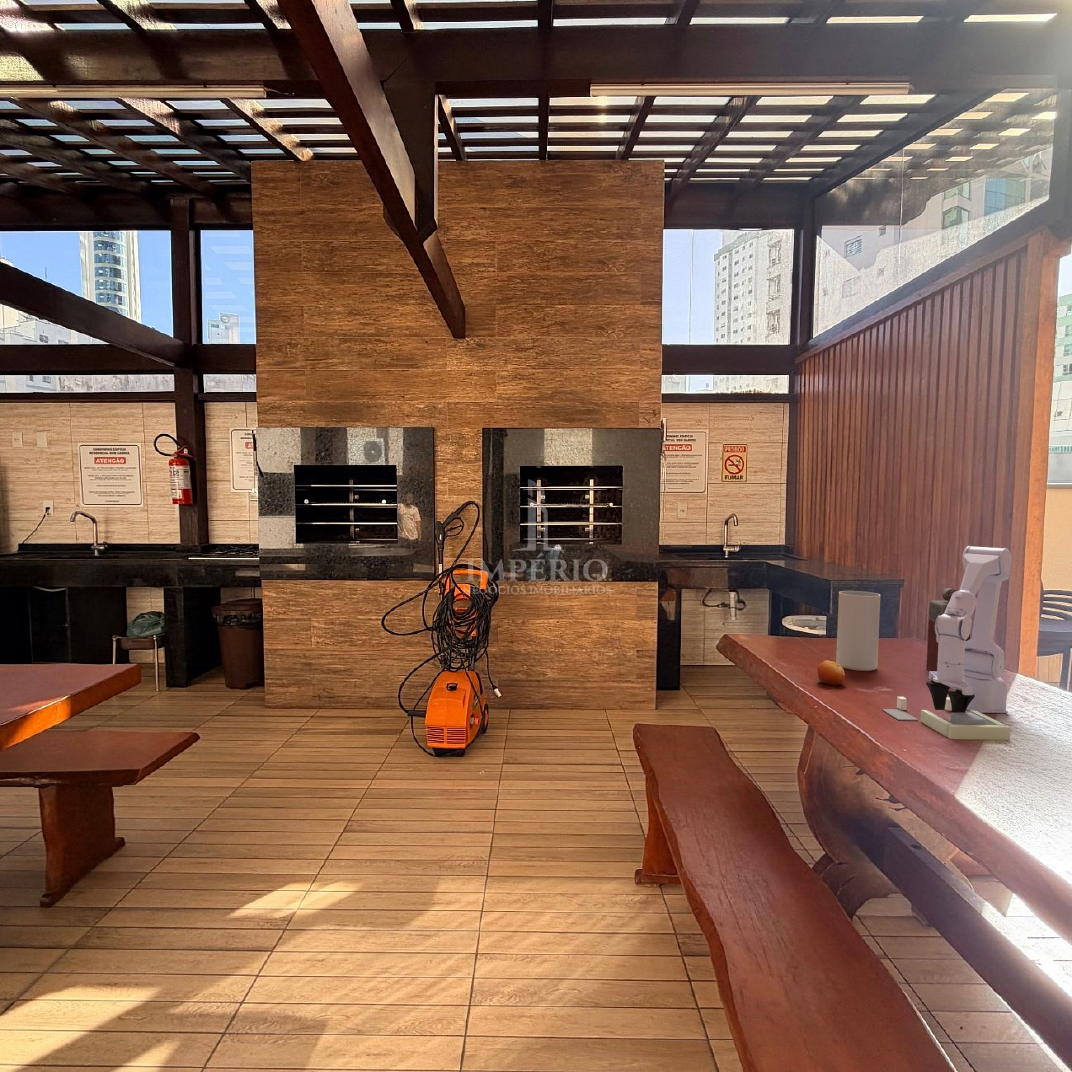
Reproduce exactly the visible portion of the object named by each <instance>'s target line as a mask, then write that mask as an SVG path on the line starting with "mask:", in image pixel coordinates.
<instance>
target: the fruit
mask: <svg viewBox="0 0 1072 1072" xmlns="http://www.w3.org/2000/svg"><path fill="white" fill-rule="evenodd" d="M816 669H817V670H816V671H817V677H818V681H817V684H818V683H824V684H826V685H830V686H833V687H836V686H839V685H840V684H842V683H843V682H844V681H845V679H846V673H845V670H844V669H845V668H843V667H841V666H840V665H839V664H837V663H836V661H831V660H827V659H825V660H823V661H822V662H820V663H819V665H818V667H817V668H816Z"/></svg>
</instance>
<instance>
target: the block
mask: <svg viewBox="0 0 1072 1072" xmlns="http://www.w3.org/2000/svg"><path fill="white" fill-rule="evenodd" d="M950 723H951V724H953V725H985V719H983V718H981V717H979V716H977V715H975V714H973V713H952V712H950Z"/></svg>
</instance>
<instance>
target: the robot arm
mask: <svg viewBox="0 0 1072 1072" xmlns="http://www.w3.org/2000/svg"><path fill="white" fill-rule="evenodd" d="M1011 553H1012V552H1011V551H1010V549H1008V548H1007V547H1003V548H1000V547H985V546H972V545H967V546H966V547H965V548H964V550H963V553H962V556H961V557H962V558H961V561H962V566H963V569H964V574H963V577H962V580H961V583H960V587H959V590H957V591H956V592H954V593H953V594H952V596H951V599H950V601H949V603H948V605H947V608H946V610H945V612H944V614H942V615H940V616H938V617H937V619H936V623H935V632H936V640H937V642H938V643H939V644H938V665H937V671H928V679H929V680H927V681H926V682H925V685H926V686H927V688H928V691H929V692H930V695H931V699H932V703H933V708H934V710H935V711H945V705H946V698H947V696H948V697H949V698H950V701H951V707H952V711H951V713H965V712H966V710H970V711H978V712H980V713H982V714H987V713H990V714H991V713H993V714H996V713H997V714H1008V712H1009V711H1008V710H1007V698H1008V697H1007V693H1008V688H1007V684H1006V682H1005V680H1004V679H1003V678H1002V676H1003V674H1004V673H1005V668H1006V662H1005V651H1004V649H1002V648H1001V647H1000V646H999V645H998V644H996V643H995V641H994V638H995V633H996V632H995V631H996V624H997V617H998V609H999V601H1000V596H1001V595H1000V594H1001V589H1002V584H1003V582H1004V581H1007V580H1009V579H1010V575H1011V571H1012V570H1011V569H1012V562H1013V558H1012V554H1011ZM976 595H977V597H976ZM974 612H975V615H974V619H973V620H972V617H973V614H974ZM972 623H973V628H972ZM971 630H972V634H971ZM969 635H970V636H971V638H970V640H968V641H966V639H967V638H968V637H969ZM977 650H978V651H977ZM986 652H990V653H986ZM950 689H954V690H955V691H953V690H952V691H951V690H950Z"/></svg>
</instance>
